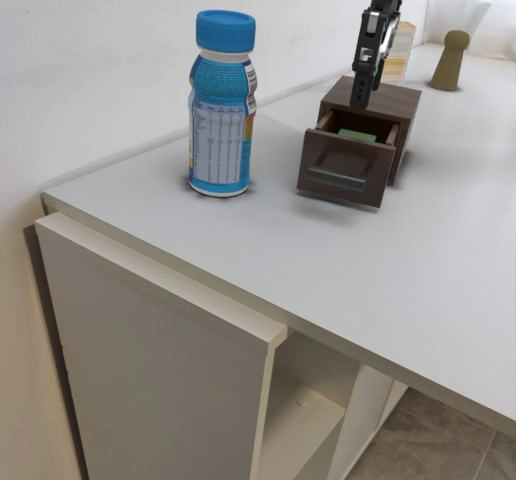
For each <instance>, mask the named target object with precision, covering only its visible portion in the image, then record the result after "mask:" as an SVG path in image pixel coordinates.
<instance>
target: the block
mask: <svg viewBox="0 0 516 480" xmlns="http://www.w3.org/2000/svg"><path fill="white" fill-rule="evenodd" d="M338 134H339V135H343V136H348V137H352V138H357V139H362V140H366V141H371V142H375V141H376V137H377V136H374V135H369V134H364V133H359V132H355V131H350V130H345V129H341V130H340V131H339V133H338Z"/></svg>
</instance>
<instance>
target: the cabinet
mask: <svg viewBox="0 0 516 480" xmlns="http://www.w3.org/2000/svg"><path fill="white" fill-rule="evenodd" d="M354 77H355V76H349V75H344V74H343V75H341V76H340V78H339V79H338V80H337V81H336V82H335V84H333V86H332V87H331V88H329V90H328V91H327V92H326V93H325V95H324V96H323V97H322V98H321V100H320V103H319V108H318V114H317V119H316V125H317V124H318V123H319V122H320V121H321V119H322V118H323V117H324V116H325V114H326V113H327V112H328V110H329V109H330V108H331V109H336V110H341V111H345V112H350V113H355V114H360V115H365V116H370V117H374V118H379V119H384V120H389V121H394V122H399V123H401V127H400V130H399V134H398V138H397V142H396V145H395V147H396V151H395V154H394V158H393V162H392V166H391V169H390V173H389V177H388V180H387V184H386V186H390V187H394V186H395V185H394V184H395V181H396V179H397V176H398V173H399V170H400V167H401V165H402V162H403V159H404V157H405V154H406V151H407V150H406V149H407V146H408V143H409V139H410V136H411V132H412V129H413V125H414V122H415V118H416V114H417V111H418V108H419V103H420V101H421V96H422V93H423V90H421V89H415V88H412V87H411V88H410V87H407V86H402V87H401V86H396V85H390V84H385V83H380V86H379V88H378V90H377V91H371V95H370V99H369V104H368V106H367V108H366V109H364V110H362V109H357V108H352V107H351V106H350V104H349V102H350V97H351V92H352V87H353V82H354Z"/></svg>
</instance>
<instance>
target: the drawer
mask: <svg viewBox="0 0 516 480" xmlns="http://www.w3.org/2000/svg"><path fill="white" fill-rule="evenodd" d="M400 127H401V123H399V122H394V121H389V120H384V119H379V118H374V117H370V116H365V115H360V114H355V113H350V112H345V111H341V110H336V109H331V108H330V109H329V110H328V112H327V113H326V114H325V116H324V117H323V118H322V119H321V121H320V122H319V123H318V124H317V123H316V126H315V127H314V128H310V127H307V128H306V129H305V131H304V136H303V137H304V138H303V144H302V150H301V156H300V162H299V169H298V177H297V184H296V190H299V191H304V192H307V193H312V194H317V195H320V196H325V197H329V198H334V199H338V200H340V201H341V200H342V201H345V202H350V203H354V204H358V205H362V206H363V205H364V206H367V207H370V208H371V207H372V208H376V209H380V208H381V206H382V203H383V200H384V199H383V198H384V196H385V195H384V194H385V191H386V187H387V185H386V184H387V180H388V177H389V173H390V169H391V166H392V162H393V158H394V154H395V151H396V147H395V145H396V142H397V138H398V134H399V130H400ZM341 129H345V130H350V131H355V132H359V133H364V134H369V135H374V136H377V137H376V141H375V142H371V141H366V140H362V139H357V138H352V137H348V136H343V135H339V134H338V133H339V131H340V130H341Z"/></svg>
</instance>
